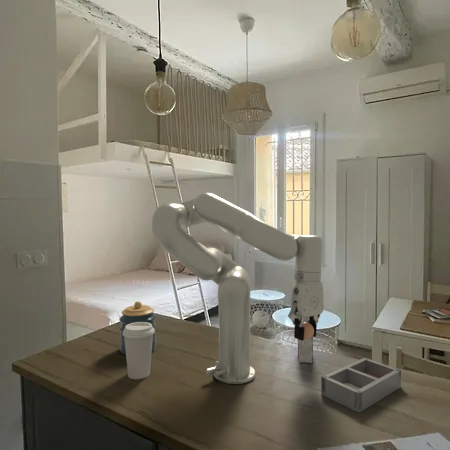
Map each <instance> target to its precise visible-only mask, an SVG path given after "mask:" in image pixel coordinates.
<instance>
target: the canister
mask: <svg viewBox="0 0 450 450" xmlns="http://www.w3.org/2000/svg"><path fill="white" fill-rule="evenodd" d="M154 311H155V310H154V308H152V307H150V306H149V305H147V304H142V302H141V301H139V300H137V301H135V302H134V304H133V305H129V306H127V307H126V308H124V309H123V310H122V311H121V314H122V315H121V316H120V317H119V318H118V319H119V322H120V326H119V350H120V353H121V354H123V356H126V349H125V339H124V336H123V335H122V334H123V331H124V329H125V326H126V325H128V324H131V323H135V322H148V323H151V324H152V327H153V328H154V330H155V333H154V334H153V341H152V353H153V352H154V351H156V349H157V348H156V347H157V332H156V331H157V330H156V329H157V324H156V319H157V315H156V314H155V313H154Z"/></svg>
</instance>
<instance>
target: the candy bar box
mask: <svg viewBox="0 0 450 450" xmlns="http://www.w3.org/2000/svg"><path fill="white" fill-rule="evenodd" d="M298 319H299V321H300V317H298ZM307 321H309V319H308V317H307V318H304V322H307ZM313 346H314V337H313V336H312V337H311V338H310V339H307V340H306V339H304V340H302V341H301V340H299V339H297V360H298V363H303V364H313V362H314V347H313Z"/></svg>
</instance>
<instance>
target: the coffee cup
mask: <svg viewBox="0 0 450 450" xmlns="http://www.w3.org/2000/svg"><path fill="white" fill-rule="evenodd" d="M154 333H155V330H154V328H153V327H152V324H151V323H148V322H135V323H131V324H128V325H126V326H125V329H124V331H123V334H122V335H123V336H124V339H125V349H126V355H125V356H126V357H125V359H126V369H127V377H128V378H129V379H132V380H141V379H143V380H144V379H145V378H148V377H149V376H150V374H151V365H152V363H151V361H152V353H153V352H152V341H153V334H154Z"/></svg>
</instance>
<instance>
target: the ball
mask: <svg viewBox="0 0 450 450" xmlns="http://www.w3.org/2000/svg"><path fill="white" fill-rule="evenodd" d="M303 327H304V339H306V340H307V339H310V338H311V337H312V336H313V335H314V328H313V326H312V325H311V324H310V323H308V322H304V323H303Z"/></svg>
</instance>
